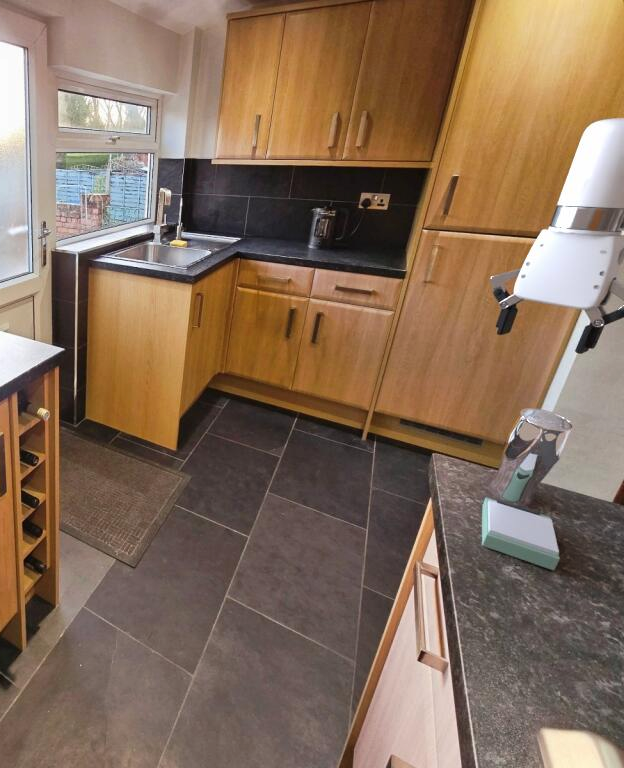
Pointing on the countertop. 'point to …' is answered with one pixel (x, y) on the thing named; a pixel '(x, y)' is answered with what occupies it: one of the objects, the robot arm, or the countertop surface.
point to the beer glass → (530, 454)
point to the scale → (519, 533)
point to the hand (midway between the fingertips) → (540, 342)
